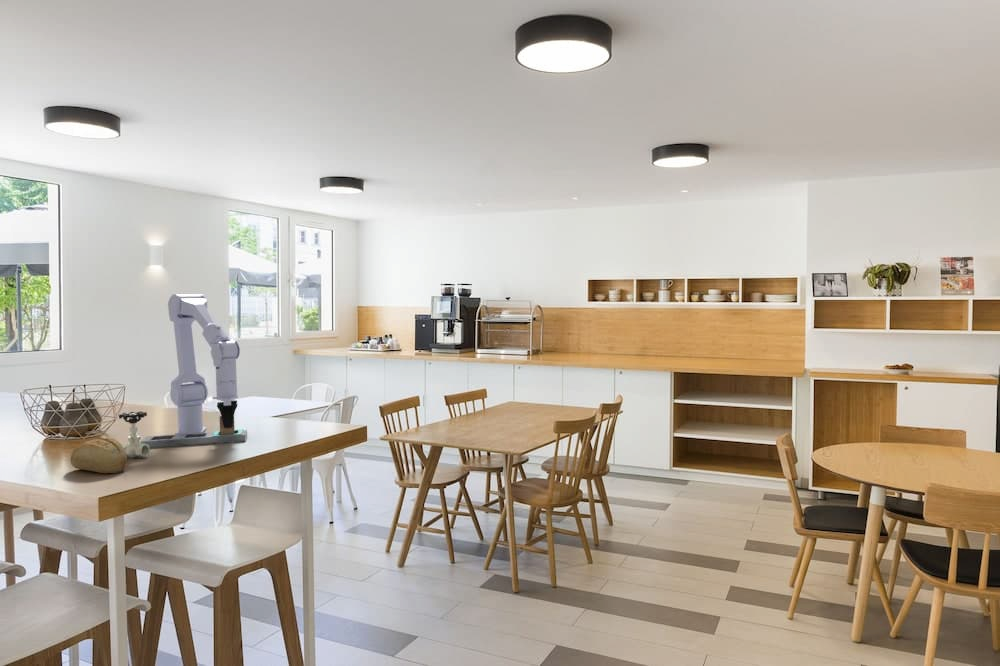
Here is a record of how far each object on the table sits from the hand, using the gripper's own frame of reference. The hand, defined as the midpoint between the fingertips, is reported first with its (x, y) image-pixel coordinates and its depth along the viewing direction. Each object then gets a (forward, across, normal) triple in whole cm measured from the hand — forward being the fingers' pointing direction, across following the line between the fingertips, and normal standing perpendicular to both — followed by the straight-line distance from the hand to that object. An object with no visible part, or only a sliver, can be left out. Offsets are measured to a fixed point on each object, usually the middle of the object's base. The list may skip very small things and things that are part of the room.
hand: (228, 426), depth 206 cm
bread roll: (+4, +26, -30) cm, 40 cm away
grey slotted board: (+4, -1, -9) cm, 10 cm away
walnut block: (+3, 0, 0) cm, 3 cm away
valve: (+4, +14, -24) cm, 28 cm away
